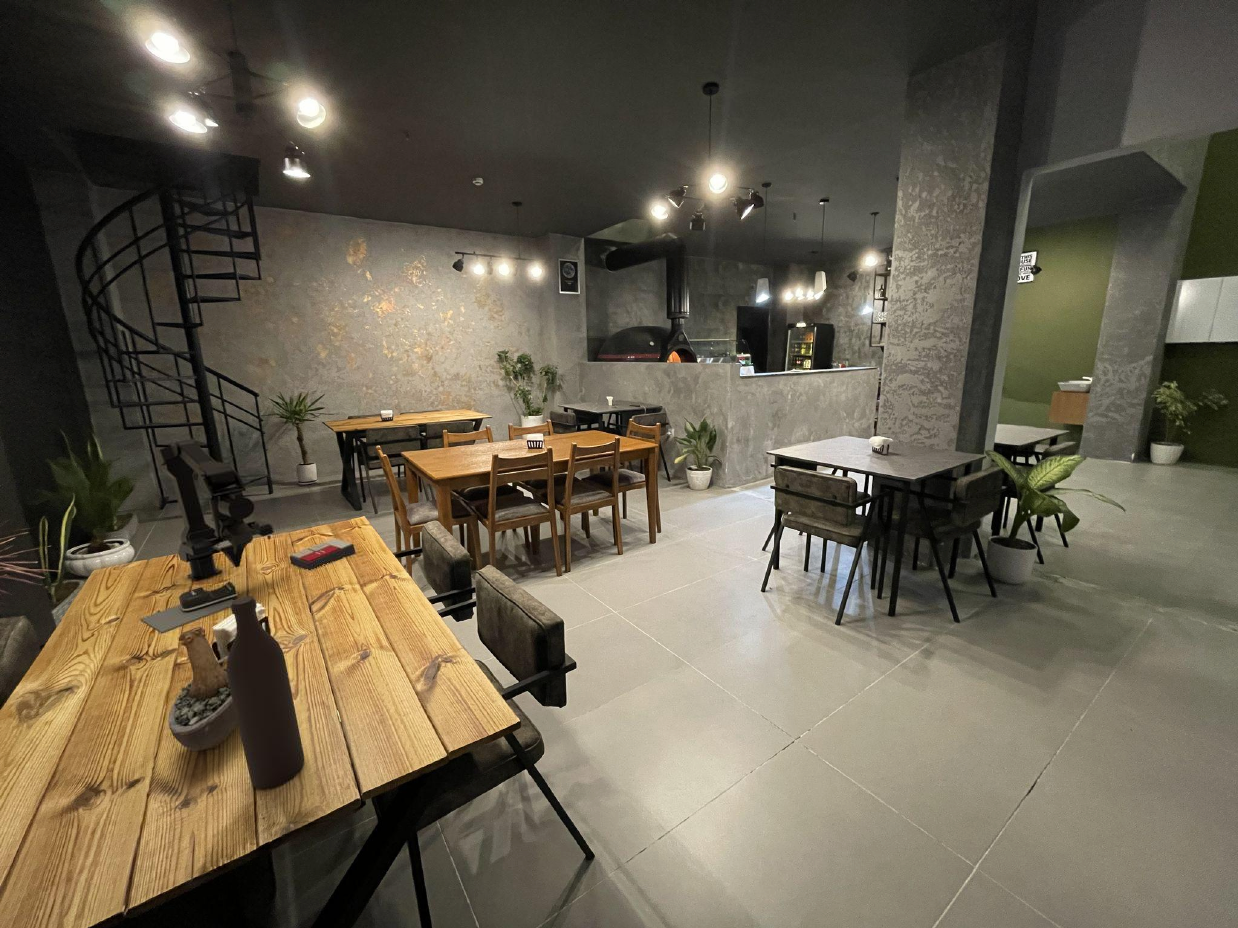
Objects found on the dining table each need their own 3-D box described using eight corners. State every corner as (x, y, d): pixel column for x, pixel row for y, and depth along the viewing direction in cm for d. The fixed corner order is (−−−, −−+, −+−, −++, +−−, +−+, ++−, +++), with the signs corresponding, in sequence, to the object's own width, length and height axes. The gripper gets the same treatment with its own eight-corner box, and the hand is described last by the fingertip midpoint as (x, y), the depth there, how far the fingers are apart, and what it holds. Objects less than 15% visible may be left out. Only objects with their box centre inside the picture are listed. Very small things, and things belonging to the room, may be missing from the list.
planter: (246, 689, 97) (226, 598, 93) (291, 719, 89) (271, 620, 85) (149, 740, 85) (120, 637, 80) (190, 780, 77) (161, 668, 72)
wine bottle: (301, 747, 83) (268, 584, 76) (309, 773, 77) (275, 600, 71) (249, 770, 78) (210, 599, 71) (254, 800, 73) (212, 618, 66)
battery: (236, 584, 133) (181, 600, 125) (238, 597, 134) (184, 614, 126) (229, 577, 138) (176, 592, 129) (232, 589, 139) (179, 605, 130)
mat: (140, 619, 124) (140, 618, 124) (215, 592, 138) (215, 591, 138) (162, 633, 118) (161, 631, 118) (238, 603, 132) (238, 602, 131)
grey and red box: (288, 554, 155) (334, 536, 168) (291, 566, 157) (336, 548, 169) (307, 561, 150) (353, 542, 163) (310, 573, 151) (356, 553, 164)
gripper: (196, 528, 120) (209, 587, 124) (278, 507, 136) (288, 560, 139) (177, 521, 126) (190, 577, 129) (259, 502, 141) (268, 552, 145)
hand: (237, 566), depth 136 cm, fingers closed
